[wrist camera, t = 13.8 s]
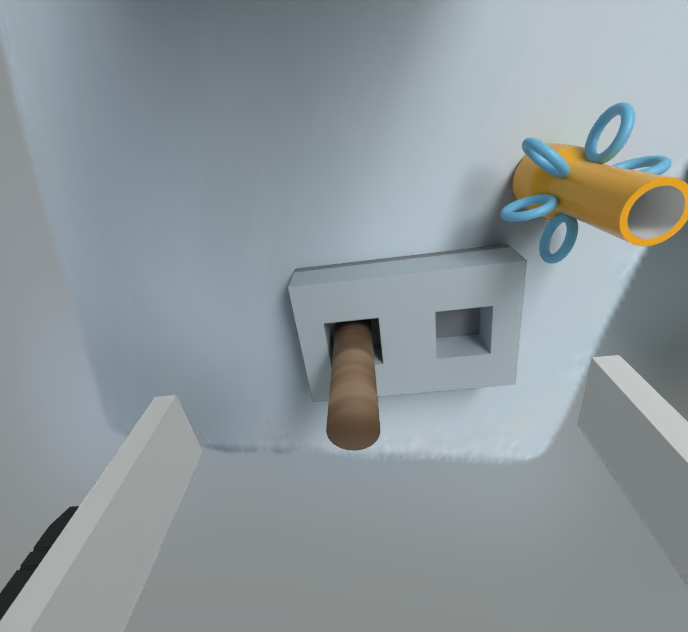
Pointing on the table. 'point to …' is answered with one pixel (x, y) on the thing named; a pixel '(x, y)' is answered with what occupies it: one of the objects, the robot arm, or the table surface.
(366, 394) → the pin
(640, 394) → the robot arm
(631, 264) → the table surface
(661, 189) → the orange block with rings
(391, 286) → the hole block
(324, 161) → the table surface
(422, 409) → the table surface
